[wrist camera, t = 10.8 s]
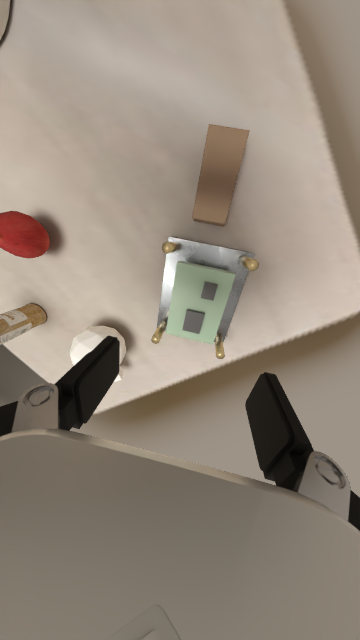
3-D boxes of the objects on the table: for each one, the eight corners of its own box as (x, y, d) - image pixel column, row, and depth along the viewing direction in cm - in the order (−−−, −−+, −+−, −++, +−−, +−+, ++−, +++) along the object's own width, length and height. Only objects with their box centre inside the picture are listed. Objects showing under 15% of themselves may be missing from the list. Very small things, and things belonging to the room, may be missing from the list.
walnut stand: (208, 140, 19) (209, 124, 16) (243, 146, 19) (249, 130, 16) (194, 220, 23) (192, 218, 20) (223, 226, 22) (225, 224, 20)
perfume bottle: (71, 323, 31) (100, 367, 37) (45, 355, 23) (88, 405, 29) (116, 310, 31) (138, 356, 37) (107, 338, 23) (136, 390, 30)
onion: (48, 262, 28) (-5, 269, 21) (22, 229, 27) (-46, 225, 20) (69, 243, 26) (19, 244, 19) (42, 207, 25) (-25, 193, 18)
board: (179, 260, 21) (176, 262, 19) (233, 271, 21) (236, 275, 19) (168, 327, 26) (164, 335, 24) (212, 337, 25) (213, 346, 23)
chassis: (170, 236, 24) (159, 235, 18) (253, 253, 23) (267, 256, 18) (158, 326, 31) (147, 344, 25) (222, 341, 30) (225, 363, 24)
